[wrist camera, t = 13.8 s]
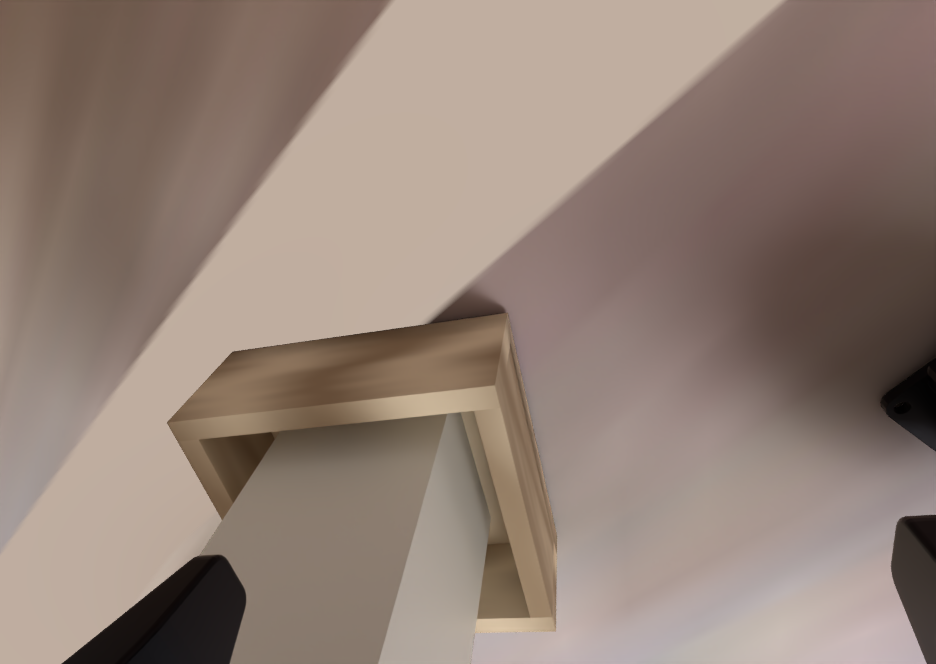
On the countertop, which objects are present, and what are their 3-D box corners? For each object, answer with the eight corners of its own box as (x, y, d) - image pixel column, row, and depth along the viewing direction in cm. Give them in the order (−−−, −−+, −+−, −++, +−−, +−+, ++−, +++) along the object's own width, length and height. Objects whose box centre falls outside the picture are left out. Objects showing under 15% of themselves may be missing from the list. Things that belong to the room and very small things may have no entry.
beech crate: (507, 312, 21) (494, 385, 17) (556, 535, 26) (555, 631, 22) (232, 351, 23) (166, 422, 20) (325, 548, 28) (288, 635, 25)
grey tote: (453, 390, 22) (353, 753, 11) (490, 517, 25) (438, 900, 14) (295, 408, 23) (77, 743, 13) (347, 526, 26) (204, 879, 16)
